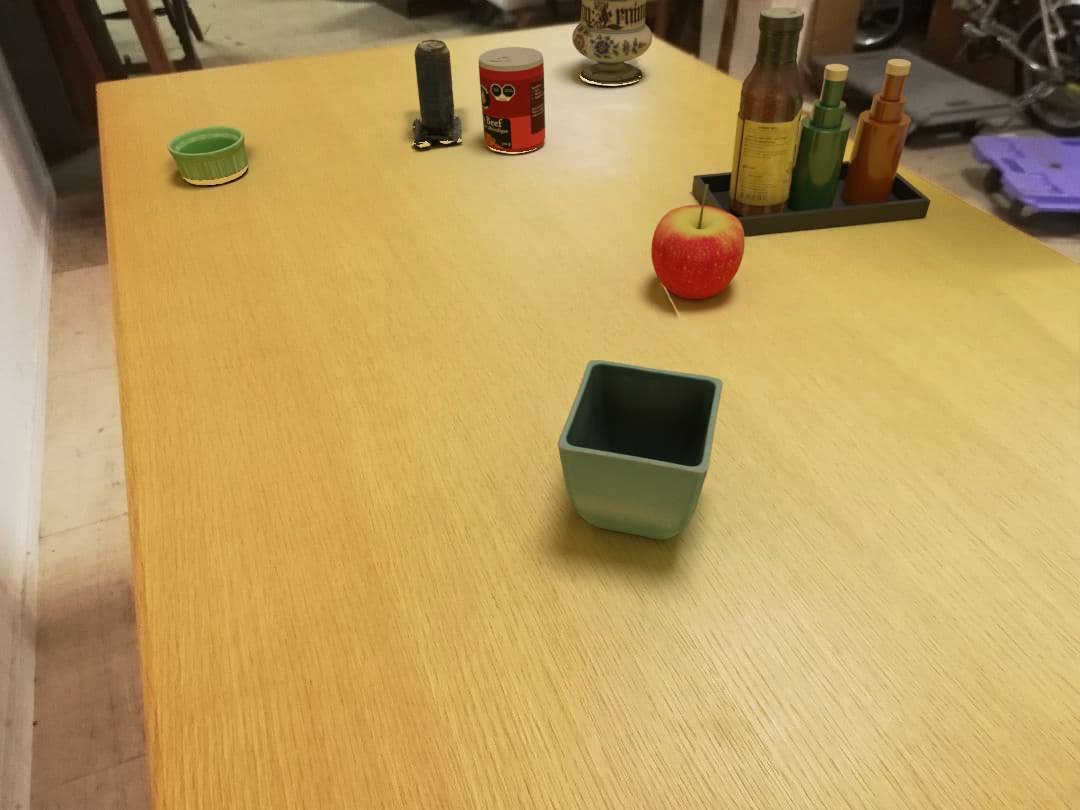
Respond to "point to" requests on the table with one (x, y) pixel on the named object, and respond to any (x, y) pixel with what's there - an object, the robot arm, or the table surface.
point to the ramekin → (209, 152)
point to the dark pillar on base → (435, 94)
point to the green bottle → (821, 146)
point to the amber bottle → (879, 141)
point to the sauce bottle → (768, 118)
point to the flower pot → (639, 447)
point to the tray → (900, 207)
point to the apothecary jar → (612, 39)
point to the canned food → (512, 98)
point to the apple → (697, 250)
